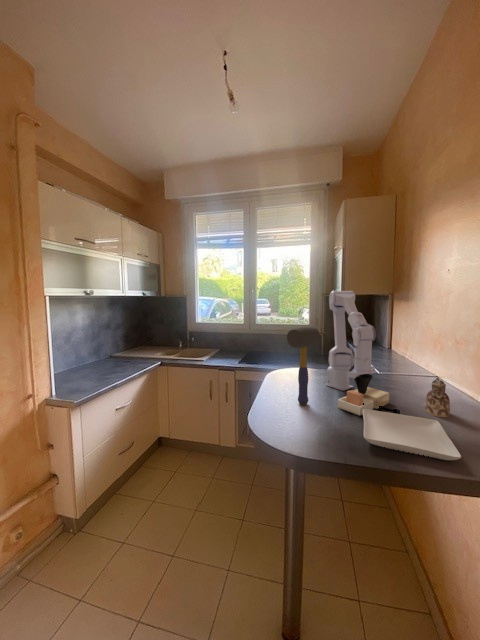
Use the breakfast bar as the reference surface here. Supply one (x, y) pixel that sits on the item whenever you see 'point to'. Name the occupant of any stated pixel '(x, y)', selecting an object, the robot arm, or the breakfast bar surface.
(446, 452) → the salad plate
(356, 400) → the terracotta-coloured block
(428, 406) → the figurine
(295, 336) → the rubber mallet
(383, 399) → the beige bevelled block
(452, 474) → the breakfast bar surface
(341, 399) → the tray
